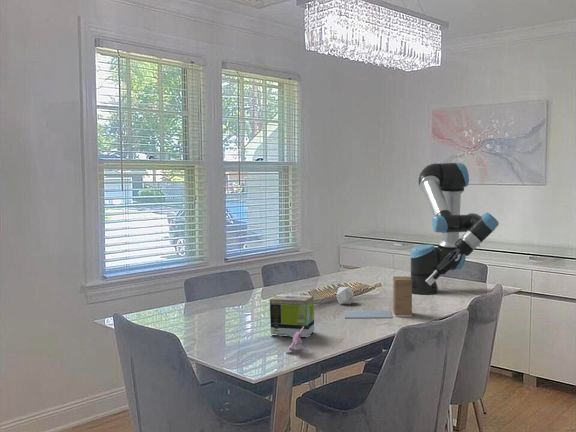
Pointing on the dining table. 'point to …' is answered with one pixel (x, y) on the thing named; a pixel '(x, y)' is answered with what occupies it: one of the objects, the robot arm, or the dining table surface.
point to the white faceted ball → (344, 295)
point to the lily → (297, 338)
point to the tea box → (292, 314)
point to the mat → (368, 314)
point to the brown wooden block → (402, 296)
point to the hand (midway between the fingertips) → (427, 283)
